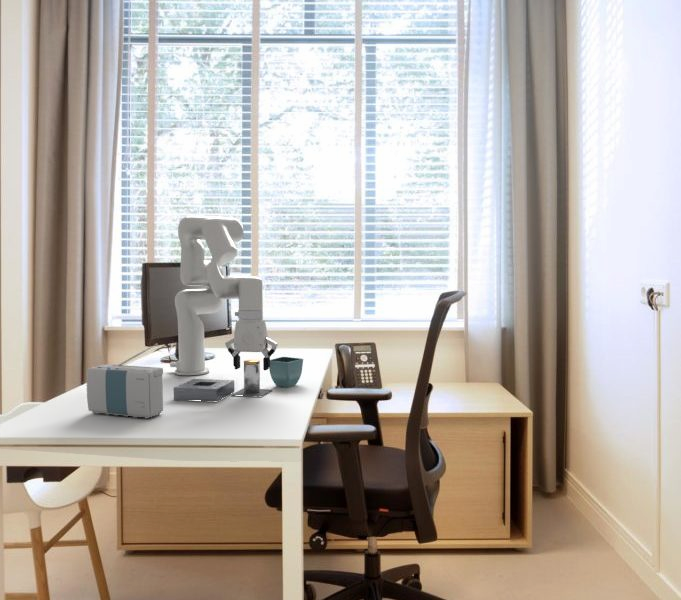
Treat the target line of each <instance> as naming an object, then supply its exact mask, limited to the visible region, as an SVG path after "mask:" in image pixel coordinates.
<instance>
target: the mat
mask: <svg viewBox="0 0 681 600" xmlns="http://www.w3.org/2000/svg"><path fill="white" fill-rule="evenodd" d="M270 391H271V392H273V389H272V388H270V389H269V388H260V392H259V393H255V394H247V393H244V387H243V388H241V389H239V390H237V391H236V392H234V393H233V394H231V395H243V396H263V395H265V394H266V395H268V394H269V393H271V392H270ZM268 392H269V393H268ZM267 393H268V394H267ZM266 395H265V396H266ZM263 397H264V396H263Z"/></svg>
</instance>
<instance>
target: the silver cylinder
mask: <svg viewBox="0 0 681 600" xmlns="http://www.w3.org/2000/svg"><path fill="white" fill-rule="evenodd" d="M260 363H261V360H259V359H245V360H243V388H244V393H247V394H255V393H259V392H260V389H261V385H260V382H261V381H260V380H261V377H260V376H261V374H260V373H261V371H260V369H261V368H260V365H261V364H260Z"/></svg>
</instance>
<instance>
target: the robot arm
mask: <svg viewBox="0 0 681 600" xmlns="http://www.w3.org/2000/svg"><path fill="white" fill-rule="evenodd" d="M244 231H245V230H244V227H243V224H242V222H241V221H240V220H239V219H237V218H236V217H235V218H234V217H224V216H208V215H207V216H206V215H188V216H184V217H183V218H181V219H180V221H179V224H178V227H177V235H178V240H179V244H180V268H179V269H180V270H179V271H180V272H179V273H180V274H179V275H180V277H179V278H180V282H181V283H182V285H185V286H188V287H204V286H205V287H207V288H190V289H189V288H188V289H182V290H180V291H178V292H177V293H176V294H175V297H174V306H175V310H176V316H177V317H176V318H177V332H178V334H177V335H178V337H177V338H178V339H177V340H178V360H177V361H170V363H169V367H170V368H176V369H175V370H174V373H175V375H178V376H200V375H205V374H206V375H207V374H208V373H210V368H208V367H206V353H205V351H206V350H205V326H204V322H203V321H202V320H201V318H200V317H199V315H206V314H208V315H209V314H216V313H218V312H219V311H220V310H221V308H222V302H223V300H234V299H237V300H238V310H237V311H235V312H234V316H235V317H238V318H237V320H236V321H235V325H234V335H233V338H232V339H230V340H228V341H226V342H225V344H224V345H225V346H226V349H227V351H228V352H229V353H230V354H231V357H232V358H233V361H232V362H233V363H232V364H233V367H234V370H239V369H240V368H241V356H240V353H242V352H243V353H262V355H263V360H262V361H263V362H262V363H263V370H264V371H267V370H269V367H270V360H271V357H272V355H273V354H275V352H276V349H277V348H278V346H279V343H278V342H276V341H274V340H272V339H271V338H269V337H268V329H267V325H266V319H264V314H263V313H264V312H263V306H264V305H263V304H264V303H263V301H264V299H263V298H264V297H263V279H262V278H261V277H259V276H250V275H224V270H223V266H225V265H226V264H229V263H230V262H232V261H233V260H234V259H235V258H236V257H237V254H238V250H237V247H236V244H235V243H238V242H240V241H241V240H242V239H243V238H244V233H245V232H244ZM201 240H202V241H203V240H204V241H205V243H206V245H207V248H208V251H209V252H210V254H211V259H210V260H205V254H206V250H205V249H206V248H205V247H204V245H203V243H202V241H201ZM232 345H233V346H232ZM269 345H270V346H271V348H270V350H269V349H268V348H269V347H268V346H269Z"/></svg>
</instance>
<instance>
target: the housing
mask: <svg viewBox="0 0 681 600" xmlns="http://www.w3.org/2000/svg"><path fill="white" fill-rule="evenodd" d="M233 392H234V393H235V380H234V379H232V380H231V379H213V378H212V379H209V378H207V379H206V378H192V379H190V380H188V381H186V382H183V383H181V384H178V385H177V386H176V385H175V386H174V387H173V401H174V400H201V401H219V400H220V401H222V400H223V399H222V398H224V397H226V396H228V395H229V396H231V395H232V394H231V393H233ZM234 393H233V394H234ZM230 394H231V395H230ZM229 396H228V397H229ZM226 398H227V397H226ZM221 399H222V400H221ZM224 399H225V398H224ZM220 401H219V402H220Z"/></svg>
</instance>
